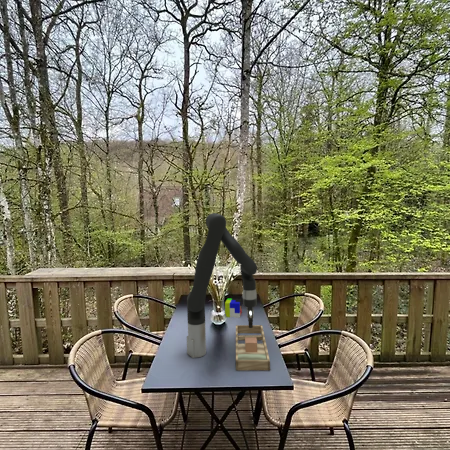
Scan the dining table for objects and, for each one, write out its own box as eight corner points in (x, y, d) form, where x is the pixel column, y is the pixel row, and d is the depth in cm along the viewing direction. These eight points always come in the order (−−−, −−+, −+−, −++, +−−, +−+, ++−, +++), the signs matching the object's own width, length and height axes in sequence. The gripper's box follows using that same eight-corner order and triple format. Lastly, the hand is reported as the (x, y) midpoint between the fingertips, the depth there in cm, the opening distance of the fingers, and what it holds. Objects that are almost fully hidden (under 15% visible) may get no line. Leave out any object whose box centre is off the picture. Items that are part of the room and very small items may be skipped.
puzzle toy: (239, 318, 202) (239, 303, 201) (225, 317, 204) (224, 303, 203) (241, 312, 211) (241, 298, 210) (227, 311, 213) (227, 298, 212)
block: (257, 352, 152) (257, 342, 151) (245, 352, 152) (245, 342, 152) (256, 346, 158) (256, 337, 157) (245, 346, 158) (245, 337, 158)
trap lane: (269, 370, 139) (269, 361, 139) (236, 370, 140) (235, 361, 139) (262, 332, 179) (262, 325, 178) (235, 332, 179) (235, 325, 179)
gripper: (257, 300, 155) (258, 332, 156) (255, 292, 168) (256, 322, 170) (243, 301, 155) (244, 332, 157) (242, 293, 168) (243, 322, 170)
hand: (250, 327), depth 163 cm, fingers closed
